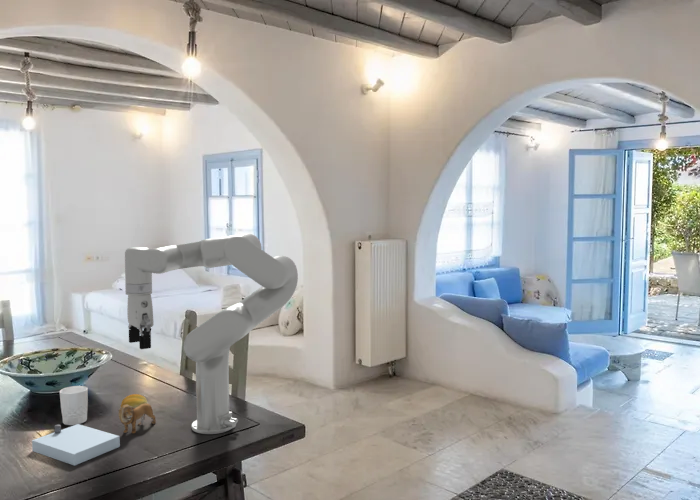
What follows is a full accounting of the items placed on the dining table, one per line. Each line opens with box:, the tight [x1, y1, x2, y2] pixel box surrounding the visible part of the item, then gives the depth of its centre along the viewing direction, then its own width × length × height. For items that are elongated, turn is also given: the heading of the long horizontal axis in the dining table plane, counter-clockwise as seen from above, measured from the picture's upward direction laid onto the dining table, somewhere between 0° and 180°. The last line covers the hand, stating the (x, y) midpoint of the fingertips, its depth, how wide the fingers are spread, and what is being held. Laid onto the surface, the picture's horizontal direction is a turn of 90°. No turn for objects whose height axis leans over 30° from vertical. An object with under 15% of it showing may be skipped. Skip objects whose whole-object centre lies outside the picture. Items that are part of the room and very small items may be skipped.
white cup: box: [59, 385, 89, 426], centre depth 189 cm, size 8×8×10 cm
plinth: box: [31, 424, 121, 466], centre depth 168 cm, size 18×14×5 cm
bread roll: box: [120, 393, 149, 408], centre depth 202 cm, size 8×9×4 cm
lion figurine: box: [117, 402, 157, 434], centre depth 183 cm, size 15×5×9 cm, turn 163°
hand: (139, 345), depth 185 cm, fingers open, 9 cm apart
